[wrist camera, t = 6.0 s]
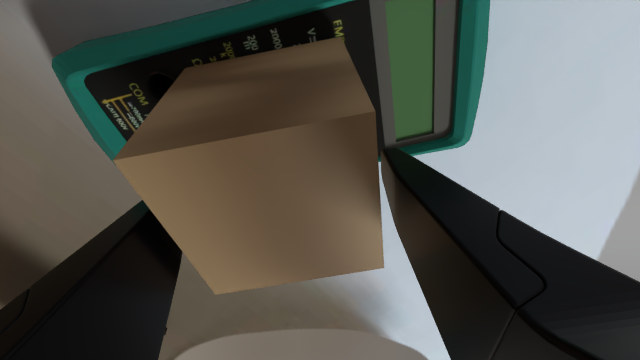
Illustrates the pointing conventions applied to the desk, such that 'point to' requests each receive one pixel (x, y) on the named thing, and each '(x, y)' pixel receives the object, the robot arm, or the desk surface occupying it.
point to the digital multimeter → (283, 3)
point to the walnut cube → (264, 167)
